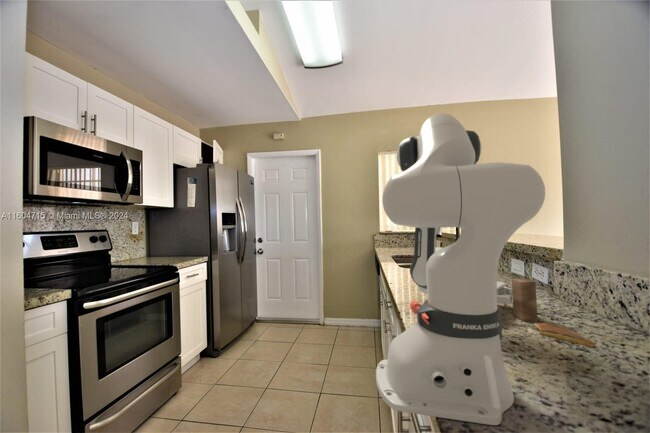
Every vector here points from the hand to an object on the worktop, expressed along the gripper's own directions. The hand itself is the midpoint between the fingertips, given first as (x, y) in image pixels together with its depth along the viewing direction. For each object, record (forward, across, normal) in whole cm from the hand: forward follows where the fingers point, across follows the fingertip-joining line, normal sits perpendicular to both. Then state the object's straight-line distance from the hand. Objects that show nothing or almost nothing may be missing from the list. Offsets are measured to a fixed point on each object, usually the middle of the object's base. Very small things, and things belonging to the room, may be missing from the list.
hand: (515, 296), depth 78 cm
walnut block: (+2, 0, +6) cm, 6 cm away
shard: (+11, -6, +7) cm, 14 cm away
